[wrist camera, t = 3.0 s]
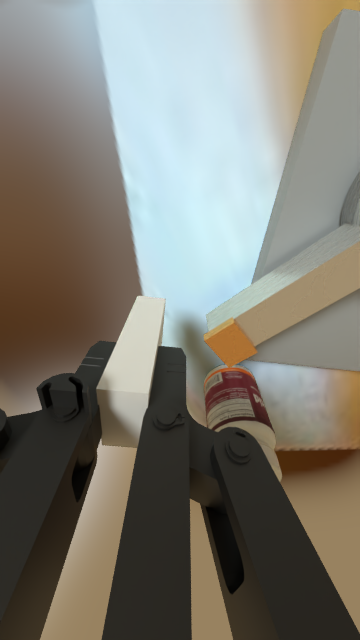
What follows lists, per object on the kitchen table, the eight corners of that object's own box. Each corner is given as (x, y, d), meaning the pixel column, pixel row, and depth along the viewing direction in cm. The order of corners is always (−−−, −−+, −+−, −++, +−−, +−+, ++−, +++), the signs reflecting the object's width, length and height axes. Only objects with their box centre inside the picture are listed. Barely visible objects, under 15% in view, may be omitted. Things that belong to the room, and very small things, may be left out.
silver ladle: (486, 66, 9) (646, 2, 6) (501, 211, 12) (618, 220, 9) (181, 290, 15) (179, 320, 12) (237, 356, 18) (249, 395, 14)
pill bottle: (256, 394, 22) (290, 494, 15) (208, 401, 23) (219, 500, 16) (251, 357, 20) (288, 454, 13) (198, 367, 21) (204, 464, 13)
